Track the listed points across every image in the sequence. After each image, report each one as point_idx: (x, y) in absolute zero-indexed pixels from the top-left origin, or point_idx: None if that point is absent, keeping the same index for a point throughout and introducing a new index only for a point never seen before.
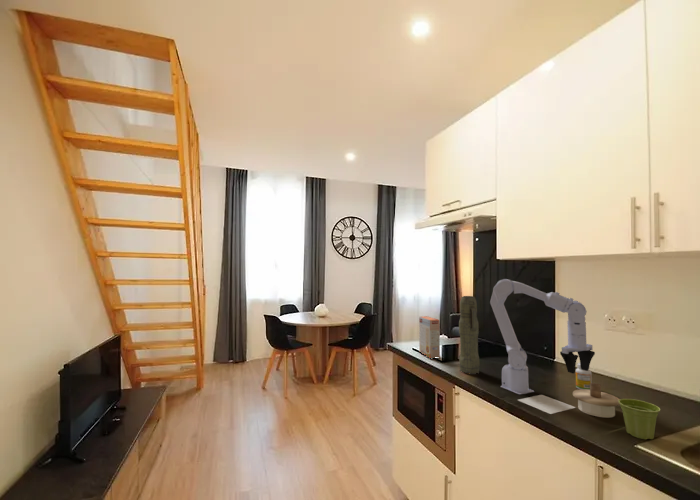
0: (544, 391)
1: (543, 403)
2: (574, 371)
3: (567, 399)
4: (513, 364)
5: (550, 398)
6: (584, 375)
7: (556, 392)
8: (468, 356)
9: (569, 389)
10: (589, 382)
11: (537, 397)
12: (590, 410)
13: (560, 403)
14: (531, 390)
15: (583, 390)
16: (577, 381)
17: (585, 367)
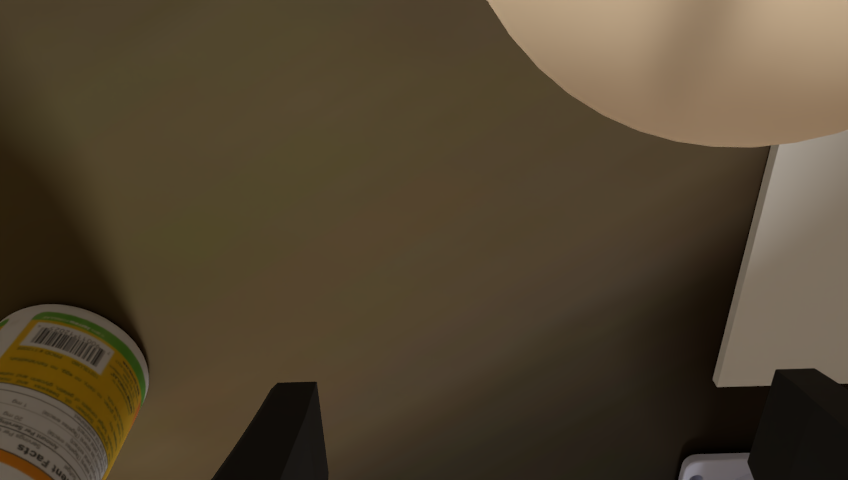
0: (564, 437)
1: None
2: (831, 390)
3: (578, 228)
4: None
5: (758, 293)
6: (35, 460)
7: (479, 387)
8: None
9: (261, 396)
10: (19, 366)
11: (842, 354)
12: None
13: (829, 162)
14: (705, 474)
15: (670, 88)
16: (120, 443)
17: (311, 462)
